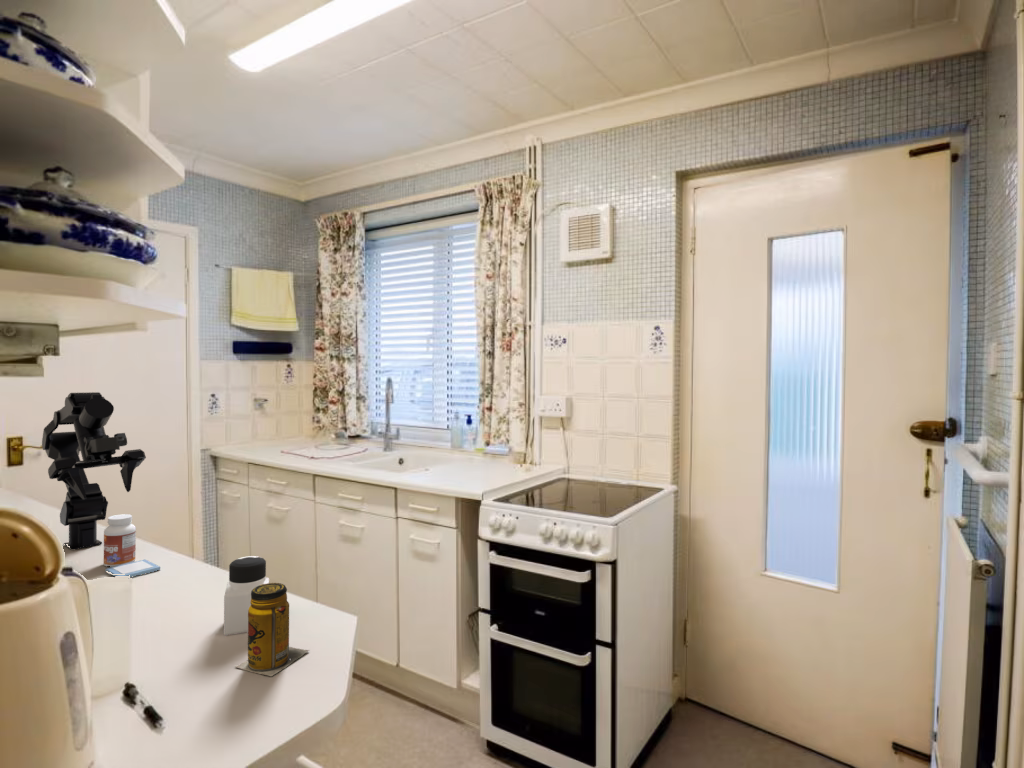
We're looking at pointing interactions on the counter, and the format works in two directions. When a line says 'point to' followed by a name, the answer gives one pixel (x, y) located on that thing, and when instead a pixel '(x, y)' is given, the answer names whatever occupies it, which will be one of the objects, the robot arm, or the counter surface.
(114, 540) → the pill bottle
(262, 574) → the medicine bottle
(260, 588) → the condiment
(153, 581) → the counter surface
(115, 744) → the counter surface
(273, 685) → the counter surface
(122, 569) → the coaster
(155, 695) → the counter surface
